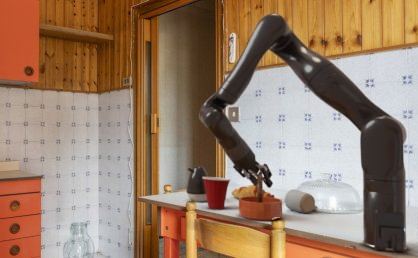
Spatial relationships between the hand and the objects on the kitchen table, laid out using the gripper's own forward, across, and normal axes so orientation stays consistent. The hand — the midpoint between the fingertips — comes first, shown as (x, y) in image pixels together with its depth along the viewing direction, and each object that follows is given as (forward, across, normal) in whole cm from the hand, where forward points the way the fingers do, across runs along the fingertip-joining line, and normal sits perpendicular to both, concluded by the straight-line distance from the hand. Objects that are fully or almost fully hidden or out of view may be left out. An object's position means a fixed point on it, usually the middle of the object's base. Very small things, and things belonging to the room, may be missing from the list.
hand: (263, 184), depth 140 cm
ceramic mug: (+21, -2, -5) cm, 22 cm away
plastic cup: (+5, +20, +10) cm, 23 cm away
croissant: (+24, +26, -8) cm, 36 cm away
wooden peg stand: (+6, 0, +9) cm, 10 cm away
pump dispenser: (+8, +36, +7) cm, 38 cm away
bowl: (+6, 0, +9) cm, 11 cm away
